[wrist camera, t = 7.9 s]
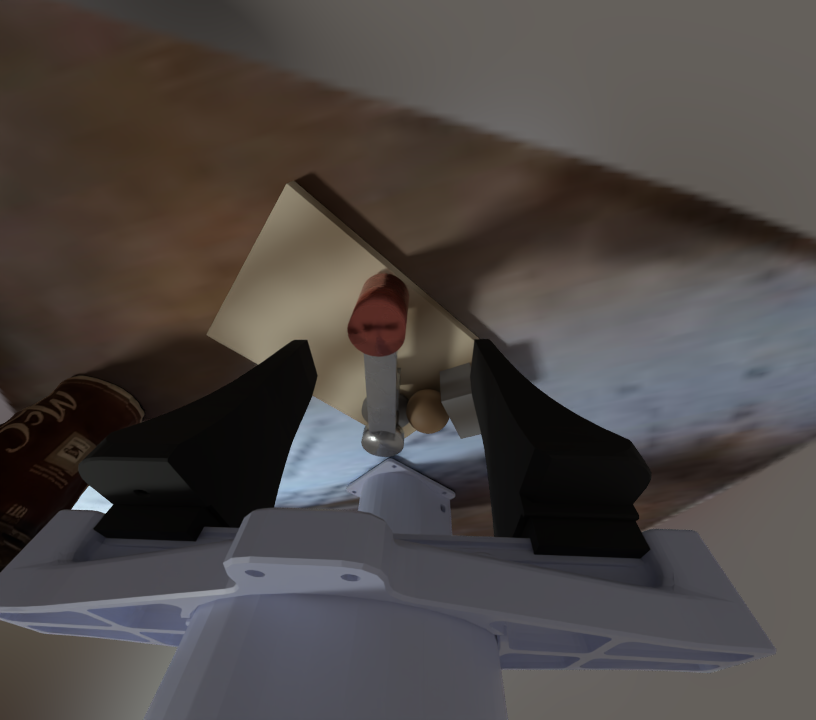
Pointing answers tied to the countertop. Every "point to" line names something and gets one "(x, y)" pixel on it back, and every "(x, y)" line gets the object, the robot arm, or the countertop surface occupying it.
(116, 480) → the robot arm
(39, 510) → the coffee cup
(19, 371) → the countertop surface
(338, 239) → the cracker base
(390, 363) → the lever
